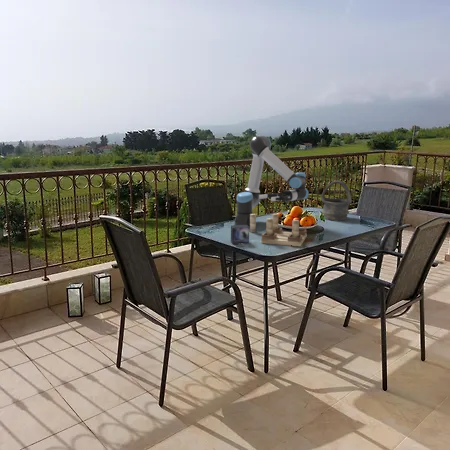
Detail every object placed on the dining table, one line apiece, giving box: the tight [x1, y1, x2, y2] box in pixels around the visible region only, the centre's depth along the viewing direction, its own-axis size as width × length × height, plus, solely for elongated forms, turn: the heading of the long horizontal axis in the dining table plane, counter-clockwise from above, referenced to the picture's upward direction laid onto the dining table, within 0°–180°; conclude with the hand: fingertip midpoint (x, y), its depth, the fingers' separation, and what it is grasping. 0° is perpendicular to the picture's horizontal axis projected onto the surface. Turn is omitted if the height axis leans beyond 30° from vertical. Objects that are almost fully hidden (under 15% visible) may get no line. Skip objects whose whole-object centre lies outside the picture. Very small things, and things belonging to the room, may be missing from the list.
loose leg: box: [249, 213, 257, 233], centre depth 275 cm, size 4×4×12 cm
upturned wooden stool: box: [261, 213, 308, 247], centre depth 252 cm, size 24×24×14 cm
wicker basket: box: [320, 180, 352, 221], centre depth 316 cm, size 22×23×30 cm
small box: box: [230, 225, 250, 245], centre depth 247 cm, size 11×6×10 cm, turn 101°
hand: (265, 198), depth 276 cm, fingers open, 13 cm apart
